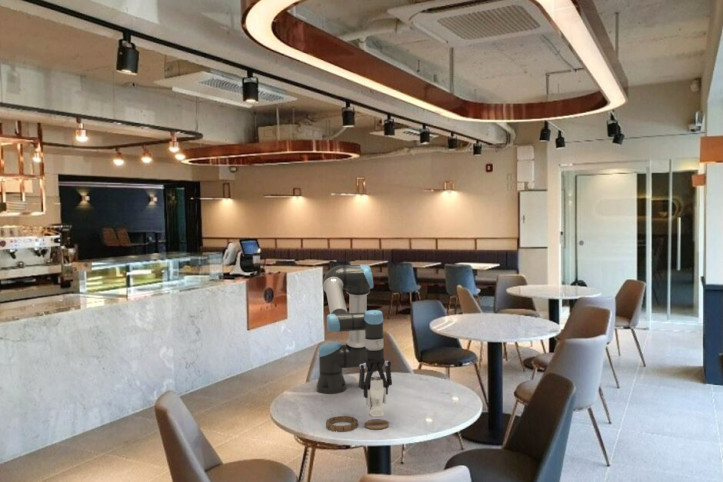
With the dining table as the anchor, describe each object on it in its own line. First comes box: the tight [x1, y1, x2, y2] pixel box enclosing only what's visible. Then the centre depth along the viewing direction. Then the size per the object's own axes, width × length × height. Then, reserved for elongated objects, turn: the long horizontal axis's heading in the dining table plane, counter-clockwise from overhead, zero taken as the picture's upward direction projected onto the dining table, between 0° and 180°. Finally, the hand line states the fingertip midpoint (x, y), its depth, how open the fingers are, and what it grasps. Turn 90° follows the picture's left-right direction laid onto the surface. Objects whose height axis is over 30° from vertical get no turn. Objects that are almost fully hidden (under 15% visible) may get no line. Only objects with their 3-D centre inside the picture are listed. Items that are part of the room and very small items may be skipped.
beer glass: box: [368, 376, 385, 418], centre depth 237 cm, size 7×7×15 cm
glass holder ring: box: [325, 415, 359, 433], centre depth 238 cm, size 13×13×2 cm
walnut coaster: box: [364, 418, 390, 431], centre depth 238 cm, size 10×10×1 cm
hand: (376, 403), depth 238 cm, fingers closed on beer glass, 7 cm apart
